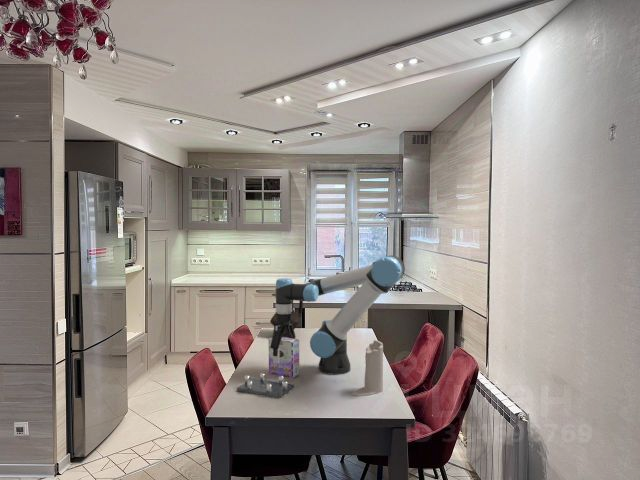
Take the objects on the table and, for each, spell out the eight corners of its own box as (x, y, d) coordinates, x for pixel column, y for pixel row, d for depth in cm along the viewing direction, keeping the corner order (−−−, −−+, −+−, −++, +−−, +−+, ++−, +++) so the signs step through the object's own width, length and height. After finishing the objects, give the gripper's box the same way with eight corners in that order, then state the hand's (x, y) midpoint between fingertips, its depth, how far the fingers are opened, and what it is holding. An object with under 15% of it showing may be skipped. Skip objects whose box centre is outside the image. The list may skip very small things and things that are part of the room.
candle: (348, 391, 173) (348, 342, 172) (375, 385, 179) (375, 338, 179) (358, 397, 166) (358, 347, 166) (386, 391, 173) (386, 342, 173)
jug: (275, 341, 251) (275, 290, 251) (266, 334, 268) (266, 287, 268) (308, 337, 260) (308, 288, 259) (297, 331, 277) (297, 285, 276)
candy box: (300, 374, 193) (299, 338, 192) (292, 378, 188) (292, 341, 187) (276, 369, 200) (276, 335, 200) (268, 373, 195) (268, 337, 195)
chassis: (293, 388, 176) (293, 377, 176) (280, 398, 165) (280, 387, 165) (252, 381, 184) (252, 371, 184) (237, 391, 173) (236, 380, 173)
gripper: (288, 307, 206) (288, 350, 207) (262, 316, 183) (262, 365, 184) (302, 308, 203) (302, 352, 204) (277, 318, 180) (277, 367, 181)
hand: (283, 358), depth 194 cm, fingers open, 13 cm apart
